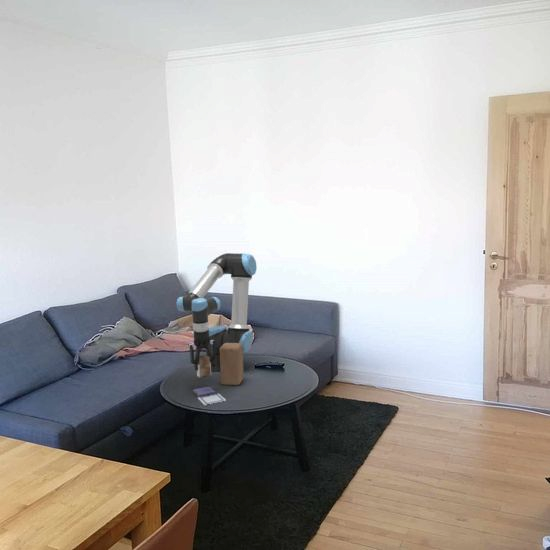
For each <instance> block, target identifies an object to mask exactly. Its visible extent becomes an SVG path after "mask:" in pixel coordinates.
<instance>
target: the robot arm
mask: <svg viewBox="0 0 550 550" xmlns="http://www.w3.org/2000/svg"><path fill="white" fill-rule="evenodd" d="M206 268H207V269H206V271H205V272H204V274H202V276H201V277H200V278H199V279H198V281H196V283H195V284H194V285H193V287H191V289H190V290H189V292H188V293H187V294H186V295H185V296H184V295H183V296H179V297H178V298H177V300H176V303H175V304H176V309H177V310H178V311H179V312H185V313H192V314H191V315H192V329H193V342H192V343H189V344H188V348H189V358H190V359H189V360H190V364H192V365H194V370H195V371H196V376H197V377H198V378H200V365H199V364H198V361H199V356H200V354H201V351H202V350H204V351H205V354H206V355H207V356H209V357H210V372H211V373H212V372H221V370H220V347H221V346H222V345H223V344H224V343H241V344H242V349H243V353H246V352H248V351H249V350H250V349H251V347H252V345H253V341H254V335H253V332H252V331H251V330H250V327H249V326H248V310H249V309H248V305H249V289H250V281H252V279H253V276H254V275H255V274H256V273H257V262H256V259H255V257H254V256H253V255H252V254H251V253H231V252H229V253H223V254H220V255H219V256H217V257H215V258H214V259H213V260H212V261H211V262H210V263H209V264H208V265H207V267H206ZM224 275H230V278H231V279H232V280H233V281H232V286H233V287H232V299H231V300H232V303H231V322H230V324H229V325H228V327H227V326H226V325H215V326H209V316H210V315H212V314H214V313H216V312H218V311H219V310H220V309H221V306H222V305H221V300H220V299H219V297H216V296H211V297H206V298H205V296H206V294H207V293H209V291H210V290H211V288H212V287H213V286H214V284H215V283H216V281H217V280H218V279H220V278H222V277H223V276H224ZM195 347H196V348H195ZM194 348H195V350H194Z"/></svg>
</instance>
